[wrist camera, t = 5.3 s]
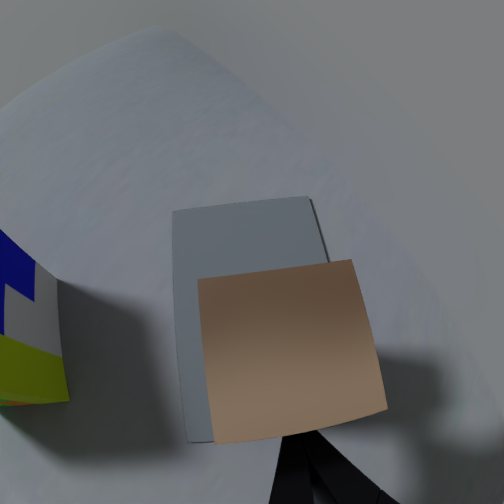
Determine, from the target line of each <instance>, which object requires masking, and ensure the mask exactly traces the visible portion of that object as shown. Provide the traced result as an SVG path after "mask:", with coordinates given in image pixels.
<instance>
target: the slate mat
mask: <svg viewBox="0 0 504 504" xmlns="http://www.w3.org/2000/svg"><path fill="white" fill-rule="evenodd" d="M172 255H173V294H174V315H175V332H176V346H177V359H178V370H179V380H180V390H181V399H182V407H183V415H184V423H185V430H186V437H187V442H209V441H214V435H213V428H212V421H211V414H210V406H209V398H208V390H207V382H206V373H205V364H204V355H203V345H202V334H201V323H200V311H199V298H198V284H197V279H202V278H211V277H219V276H228V275H236V274H244V273H252V272H260V271H268V270H275V269H283V268H291V267H298V266H306V265H313V264H320V263H327V262H328V261H327V257H326V254H325V250H324V247H323V243H322V240H321V236H320V233H319V229H318V226H317V223H316V219H315V216H314V213H313V209H312V206H311V203H310V200H309V197H308V196H303V197H292V198H281V199H270V200H260V201H251V202H242V203H233V204H224V205H216V206H208V207H200V208H192V209H185V210H178V211H173V218H172Z"/></svg>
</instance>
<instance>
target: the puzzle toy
mask: <svg viewBox="0 0 504 504" xmlns="http://www.w3.org/2000/svg"><path fill="white" fill-rule="evenodd" d="M66 401H70V399H69V394H68V388H67V383H66V377H65V371H64V364H63V357H62V349H61V341H60V330H59V318H58V300H57V278H55V277H54V276H53V275H52V274H50V273H49V272H48V271H47V270H46V269H44V268H43V267H42V266H41V265H39V264H38V263H37V262H36V261H35V260H34V259H32V258H31V257H30V256H29V255H28V254H27V253H26V252H24V251H23V250H22V249H21V248H20V247H19V246H18V245H17V244H16V243H14V242H13V241H12V240H11V239H10V238H9V237H8V236H7V235H6V234H5V233H4V232H3V231H2V230H1V229H0V406H18V405H34V404H46V403H57V402H66Z"/></svg>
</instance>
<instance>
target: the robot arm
mask: <svg viewBox="0 0 504 504" xmlns="http://www.w3.org/2000/svg"><path fill="white" fill-rule="evenodd" d="M269 504H400V503H398V502H397V501H396V500H394V499H393V498H392V497H390V496H389V495H388V494H387V493H386V492H384V491H383V490H380V488H379V487H378V486H377V485H376V484H375V483H374V482H372V481H371V480H370V479H369V478H368V477H367V476H365V475H364V474H363V473H362V472H361V471H360V470H359V469H358V468H356V467H355V466H354V465H353V464H352V463H351V462H350V461H349V460H348V459H347V458H345V457H344V456H343V455H342V454H341V453H340V452H339V451H338V450H337V449H336V448H335V447H334V446H333V445H332V444H331V443H330V442H328V441H327V440H326V439H325V438H324V437H323V436H322V435H321V434H320V433H319V432H318V431H317V430H312V431H308V432H303V433H298V434H293V435H287V436H282V442H281V447H280V452H279V457H278V462H277V467H276V472H275V477H274V481H273V486H272V491H271V495H270V500H269Z"/></svg>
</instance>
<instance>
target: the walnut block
mask: <svg viewBox="0 0 504 504" xmlns="http://www.w3.org/2000/svg"><path fill="white" fill-rule="evenodd" d="M197 284H198V298H199V311H200V323H201V334H202V345H203V355H204V364H205V373H206V382H207V390H208V398H209V406H210V414H211V421H212V428H213V435H214V441H215V444H227V443H238V442H247V441H255V440H262V439H269V438H276V437H282V436H287V435H293V434H298V433H303V432H308V431H312V430H317V429H321V428H325V427H330V426H333V425H337V424H341V423H345V422H348V421H352V420H355V419H359V418H362V417H365V416H369V415H372V414H375V413H378V412H381V411H384V410H387V409H388V407H387V402H386V396H385V391H384V386H383V381H382V376H381V371H380V366H379V361H378V357H377V353H376V348H375V344H374V340H373V336H372V331H371V327H370V324H369V320H368V316H367V312H366V308H365V305H364V301H363V297H362V294H361V290H360V287H359V283H358V280H357V276H356V273H355V270H354V267H353V263H352V260H351V259H349V260H342V261H335V262H327V263H320V264H313V265H306V266H298V267H291V268H283V269H275V270H268V271H260V272H252V273H244V274H236V275H228V276H219V277H211V278H202V279H197Z"/></svg>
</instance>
